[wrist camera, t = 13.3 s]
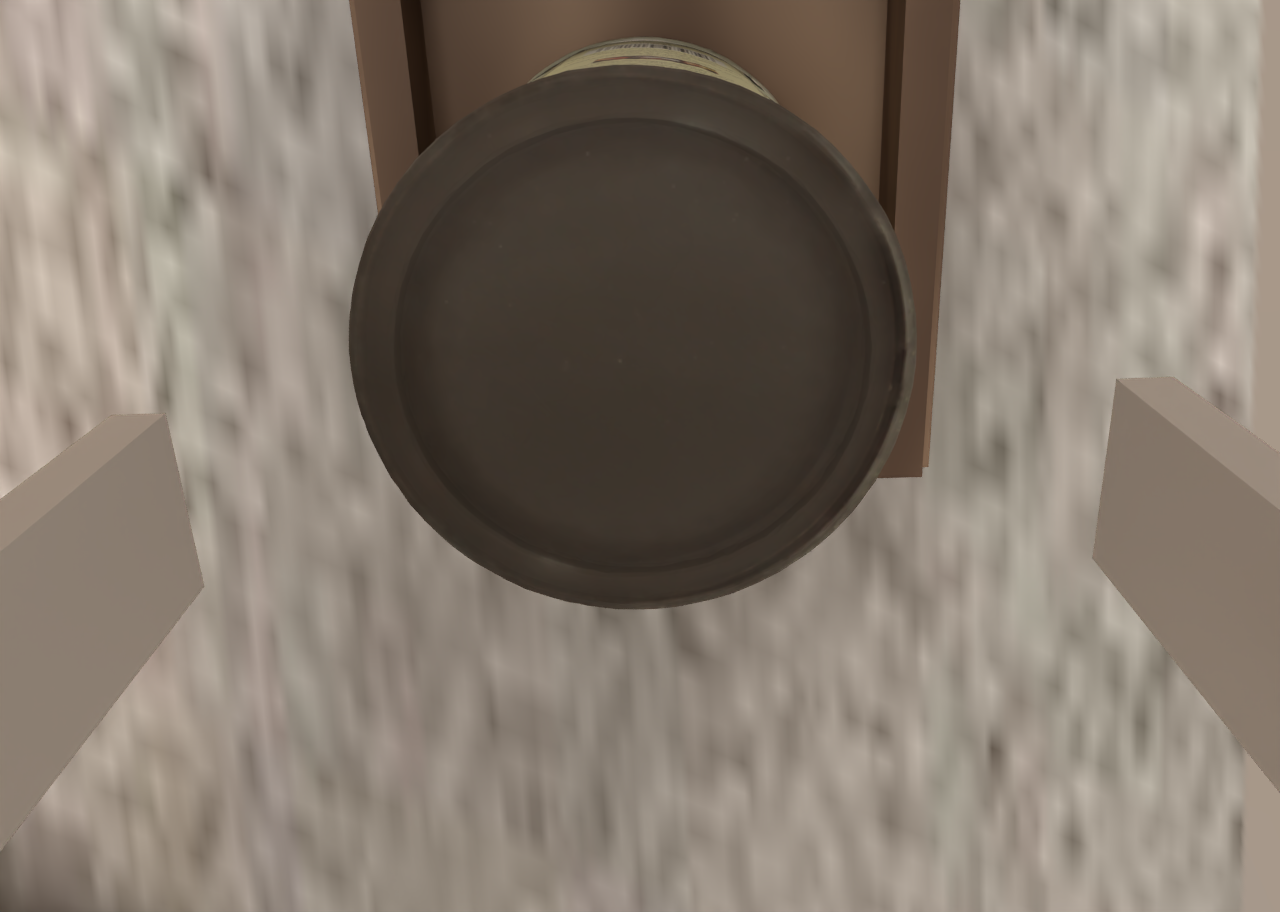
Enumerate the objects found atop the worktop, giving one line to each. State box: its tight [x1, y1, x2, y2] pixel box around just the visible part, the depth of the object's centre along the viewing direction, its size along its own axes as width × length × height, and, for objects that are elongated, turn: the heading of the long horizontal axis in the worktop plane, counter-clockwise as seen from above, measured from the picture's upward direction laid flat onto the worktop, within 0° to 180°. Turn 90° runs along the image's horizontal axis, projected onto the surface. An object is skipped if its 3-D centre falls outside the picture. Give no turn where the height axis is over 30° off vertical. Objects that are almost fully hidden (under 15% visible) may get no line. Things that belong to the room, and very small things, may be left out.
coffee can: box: [349, 37, 917, 609], centre depth 26 cm, size 10×10×14 cm
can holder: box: [349, 0, 960, 478], centre depth 32 cm, size 17×17×4 cm
